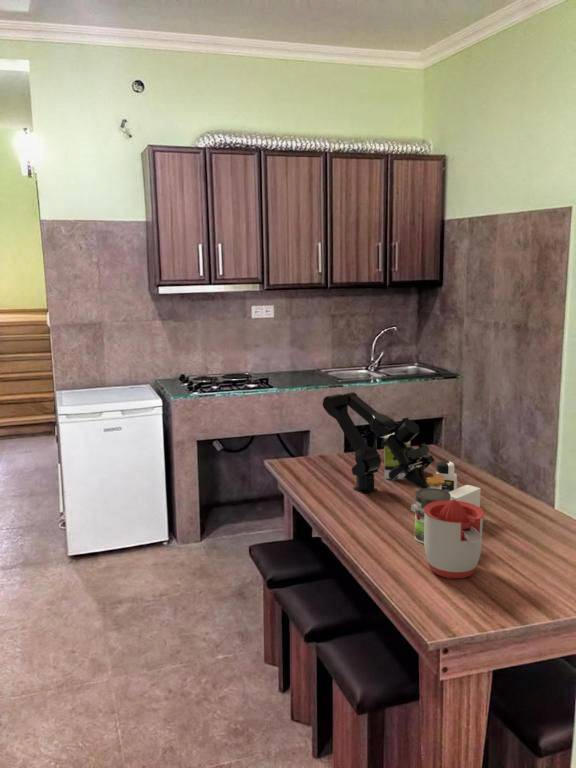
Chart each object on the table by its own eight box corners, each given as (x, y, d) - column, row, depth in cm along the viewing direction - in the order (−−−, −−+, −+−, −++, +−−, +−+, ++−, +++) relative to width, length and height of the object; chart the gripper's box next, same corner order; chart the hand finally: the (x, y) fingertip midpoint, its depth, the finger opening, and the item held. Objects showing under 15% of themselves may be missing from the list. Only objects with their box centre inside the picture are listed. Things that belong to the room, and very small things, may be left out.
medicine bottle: (432, 497, 236) (433, 464, 234) (436, 490, 243) (437, 458, 241) (453, 499, 234) (454, 466, 232) (456, 492, 240) (457, 460, 238)
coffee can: (427, 548, 195) (428, 502, 193) (407, 535, 205) (408, 491, 202) (456, 541, 199) (457, 496, 197) (435, 529, 209) (436, 485, 206)
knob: (421, 505, 222) (421, 476, 220) (432, 500, 226) (433, 472, 224) (436, 510, 218) (437, 480, 216) (447, 505, 222) (448, 476, 220)
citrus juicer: (449, 591, 170) (452, 516, 166) (411, 563, 186) (412, 494, 182) (498, 578, 176) (502, 506, 172) (457, 553, 192) (459, 486, 188)
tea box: (384, 467, 271) (384, 431, 268) (409, 467, 270) (410, 432, 267) (384, 479, 256) (384, 441, 254) (410, 480, 255) (411, 442, 252)
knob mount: (407, 512, 223) (407, 483, 221) (431, 502, 231) (431, 474, 229) (456, 528, 209) (456, 498, 207) (479, 517, 217) (480, 488, 215)
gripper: (395, 442, 219) (422, 482, 212) (430, 431, 231) (457, 469, 224) (377, 460, 226) (402, 500, 220) (412, 449, 238) (437, 486, 232)
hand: (425, 488), depth 224 cm, fingers closed
